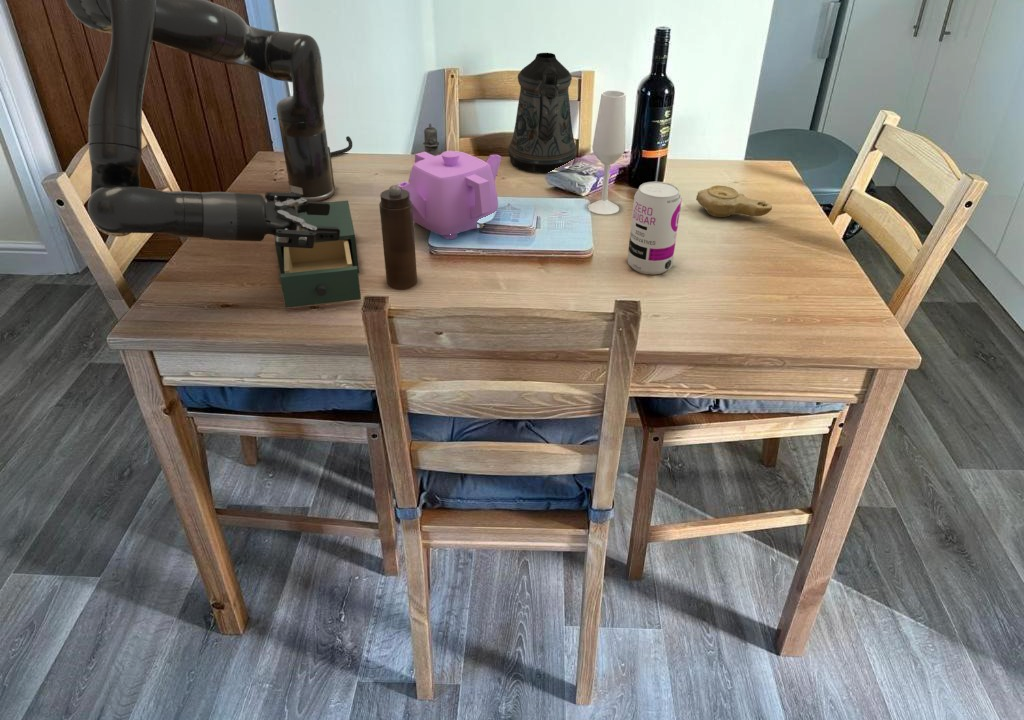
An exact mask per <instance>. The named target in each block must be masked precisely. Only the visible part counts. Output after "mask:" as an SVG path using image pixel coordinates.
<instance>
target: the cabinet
mask: <svg viewBox="0 0 1024 720" xmlns="http://www.w3.org/2000/svg"><path fill="white" fill-rule="evenodd" d="M327 202H328V203H329V205H330V210H329V214H328V215H307V213H306V212H305V214H303V215H300V216H298V217H299V218H301V219H304V220H305V222H306V223H307V224H310V225H313V226H315V227H317V226H327V227H338V228H339V230H340V236H339V240H347V239H348V243H349V249H350V254H351V260H352V266H357V269H358V274H360V266H359V259H358V258H359V257H358V249H357V241H356V240H357V239H356V233H355V228H354V223H353V217H352V214H351V213H352V212H351V208H350V204H349V200H347V199H346V200H336V201H327ZM304 231H308V230H305V229H304ZM275 238H276V236H275V235H274V239H275ZM290 239H291V238H290ZM299 241H301V242H306V241H305V240H303V239H300V240H299ZM327 241H328V240H317V241H316V242H327ZM316 242H315V243H316ZM274 245H275V244H274ZM275 251H276V257H277V261H278V267H279V272H280V274H284V273H285V272H284V247H279V246H276V245H275Z"/></svg>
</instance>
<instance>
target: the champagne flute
mask: <svg viewBox="0 0 1024 720" xmlns="http://www.w3.org/2000/svg"><path fill="white" fill-rule="evenodd" d="M626 97H627V95H626V93H625V92H624V91H620V90H611V89H610V90H609V89H608V90H603V91H602V92H601V94H600V100H599V105H598V112H597V118H596V123H595V124H596V125H595V129H594V134H593V141H592V152H593V154H594V155H595V157H596V158H597V160H598V161H600V162H601V163H602V164H603V166H604V167H603V176H602V177H603V179H602V187H601V199H599V200H596V201H594V202H592V203H590V204H589V205H588V206H587V209H588V210H589V211H590V212H591V213H594V214H596V215H597V214H598V215H613V214H616V213H618V212H619V210H620V207H619V206H618V205H617V204H616V203H613V202H612V201H610V200H609V199H608V193H609V182H610V172H611V165H612V164H614V163H615V162H617V161H619V160H620V159H621V157H622V156H624V154H625V152H626V117H627V116H626V114H627V113H626V112H627V111H626V108H627V107H626V106H627V105H626V104H627V103H626V99H627V98H626Z"/></svg>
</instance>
